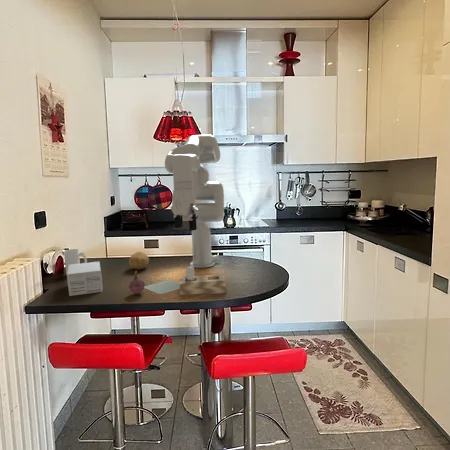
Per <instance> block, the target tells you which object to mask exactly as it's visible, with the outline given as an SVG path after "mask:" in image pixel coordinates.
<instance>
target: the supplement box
mask: <svg viewBox="0 0 450 450" xmlns="http://www.w3.org/2000/svg"><path fill="white" fill-rule="evenodd" d="M102 277H103V275H102V270H101V263H100V261H91V262H86V263H84V262H81V263H80V264H71V265H69V266H68V272H67V274H66V280H67V287H68V296H69V297H71V296H78V295H87V294H93V293H103V290H104V289H103V278H102Z"/></svg>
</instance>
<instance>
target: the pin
mask: <svg viewBox="0 0 450 450" xmlns="http://www.w3.org/2000/svg"><path fill="white" fill-rule="evenodd" d="M194 276H195V267H193V266H190V265H189V266H186V277H187V281H195V278H194Z"/></svg>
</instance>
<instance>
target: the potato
mask: <svg viewBox="0 0 450 450" xmlns="http://www.w3.org/2000/svg"><path fill="white" fill-rule="evenodd" d="M149 263H150V258H149V257H148V255H147V254H146V253H145V252H142V251H136V252H135V253H134V254H131V256H130V257H129V259H128V264H129V266H130V267H132V268H133V269H135V270H137V271H139V270H140V271H141V270H142V269H145V268H146V267H147V266H148V264H149Z"/></svg>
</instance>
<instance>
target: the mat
mask: <svg viewBox="0 0 450 450" xmlns="http://www.w3.org/2000/svg"><path fill="white" fill-rule="evenodd" d="M144 289H145V290H148V291H150V292H153V293H154V294H158V295H162V294H163V295H164V294H167V293H171V292H175V291H177V290H180V282H178V281H175V280H172V279H168V280H165V281H164V280H163V281H160V282H157V283H156V282H155V283H152V284H148V285H145V287H144Z"/></svg>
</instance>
